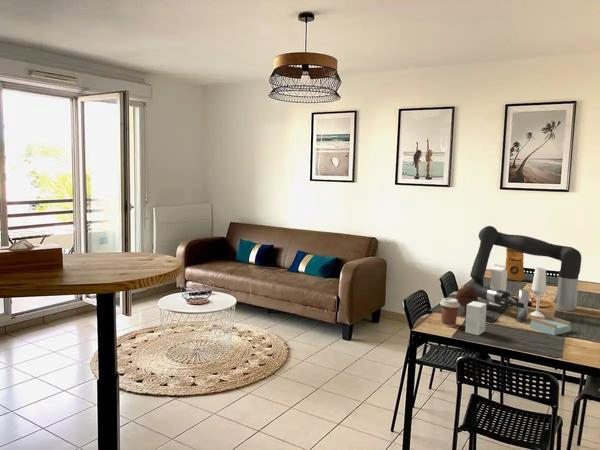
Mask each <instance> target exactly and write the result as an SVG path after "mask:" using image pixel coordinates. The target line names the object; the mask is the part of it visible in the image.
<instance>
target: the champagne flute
mask: <svg viewBox="0 0 600 450" xmlns="http://www.w3.org/2000/svg"><path fill="white" fill-rule="evenodd" d="M546 269H547V268H544V267H535V269H534V272H533V273H534V275H533V280H532V285H531V291H532V292H533V294H534V295H535V296H536V307H535V310H534V311H531V312H530V313H529V315H531V316H533V317H545V314H543V313H542V312H540V311H539V309H540V297H541V296H543V295H544V294H546V292H547V271H546Z"/></svg>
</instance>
